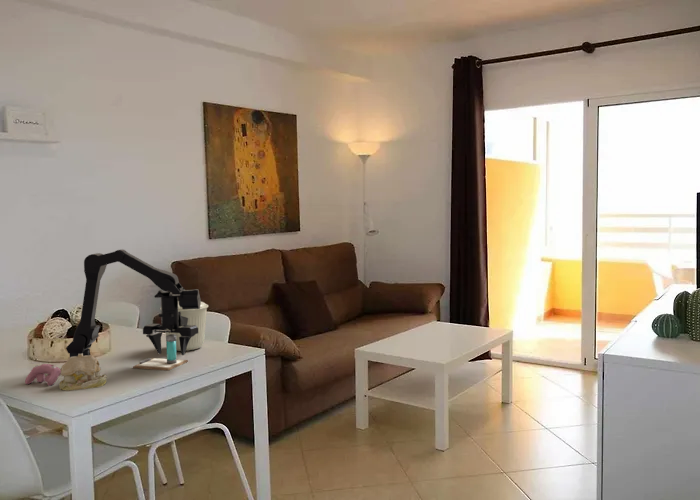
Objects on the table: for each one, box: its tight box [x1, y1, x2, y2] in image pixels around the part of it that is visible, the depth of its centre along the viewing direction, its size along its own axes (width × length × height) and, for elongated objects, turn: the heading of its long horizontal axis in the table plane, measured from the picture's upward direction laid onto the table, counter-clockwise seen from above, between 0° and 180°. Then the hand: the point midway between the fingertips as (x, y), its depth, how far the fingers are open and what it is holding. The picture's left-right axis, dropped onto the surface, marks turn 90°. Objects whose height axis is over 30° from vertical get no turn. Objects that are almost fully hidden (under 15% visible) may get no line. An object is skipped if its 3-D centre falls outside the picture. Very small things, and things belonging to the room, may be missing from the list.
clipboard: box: [132, 357, 189, 371], centre depth 213 cm, size 12×14×1 cm
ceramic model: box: [58, 353, 107, 391], centre depth 189 cm, size 14×11×10 cm
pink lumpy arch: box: [24, 363, 61, 387], centre depth 192 cm, size 10×5×7 cm, turn 75°
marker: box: [165, 334, 178, 364], centre depth 212 cm, size 3×3×10 cm
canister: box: [159, 300, 209, 352], centre depth 237 cm, size 18×18×21 cm
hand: (171, 354), depth 212 cm, fingers open, 9 cm apart
